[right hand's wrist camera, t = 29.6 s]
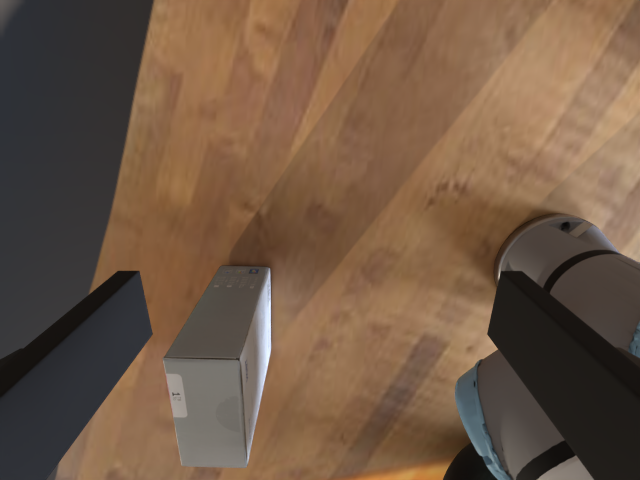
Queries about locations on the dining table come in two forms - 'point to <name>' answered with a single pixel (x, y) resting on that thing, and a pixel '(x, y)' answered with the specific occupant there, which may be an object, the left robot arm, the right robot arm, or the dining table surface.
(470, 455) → the sphere
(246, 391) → the hard drive box
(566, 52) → the dining table surface
